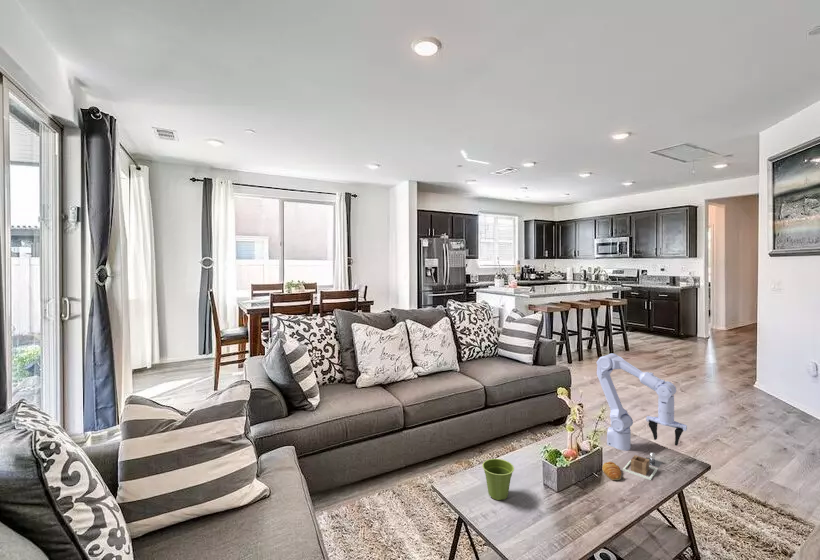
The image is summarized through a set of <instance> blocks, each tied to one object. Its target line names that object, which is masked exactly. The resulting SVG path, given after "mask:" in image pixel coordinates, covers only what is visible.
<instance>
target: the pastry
mask: <svg viewBox="0 0 820 560" xmlns="http://www.w3.org/2000/svg"><path fill="white" fill-rule="evenodd" d="M601 469H602V472H603V473H604V474H605V476H606V477H607V478H608V479H609V480H611V481H620V480H621V479H622V474H623V472H622V470H621V467H620V466H619V465H617V464H616V463H615V462H612V461H607V462H604V463H603V465H602V468H601Z"/></svg>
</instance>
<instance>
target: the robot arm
mask: <svg viewBox="0 0 820 560" xmlns="http://www.w3.org/2000/svg"><path fill="white" fill-rule="evenodd" d="M595 363H596V376H597V378H598V381H599V384H600V386H601V389H602V392H603V394H604V397H605V399H606V401H607V404H608V406H609V407H608V408H609V410H610V413H609V418H610V426H608V428H607V432H606V445H607V446H609V447H611V448H614V449H616V450H620V451H629V450H631V449H632V448H631V447H632V446H631V442H632V441H631V435H632V434H631V432H632V431H631V427H632V426H633V423H634V420H633V417H631V415H630V414H629V413H628V410H627V409H625V408H624V407H623V405H622V403H621V400H620V397H619V394H618V392H617V389H616V387H615V384H614V382H613V379H612V376H611V373H612V372H613V370H622V371H624V372H627V373H629V374H630V375H632V376H634V377H635V378H636V379H639V382H640V383H641V384H642V385H644V386H646V387H647V388H649V389H650V390H653V391H655V393H656V395H657V396H658V399H657V401H658V402H657V403H658V404H657V416H650V415H646V417H645V421H646V422H648V425H647V426H648V427H649V428H650V430H651V432H652V435H653V440H654V441H656V440H658V425H661V426H664V427H671V428H674V429H675V430H674V446H676V447H677V446H678V445H679V441H680V438H681V436H682V435H683V432H686V431H688V425H687V424H684V423H681V422H678V421H676V420H675V394H676V393H677V387H676V386H675V384H673V383H672V382H671V381H666V380H665V379H663V378H659V377H657V376H656V375H654V372H653V371H652V372H651V371H650V372H649V371H642V370H641V369H639V368H638V367H636V366H634V365H633V364H631V363H630V362H628V361H627V360H625V359H624V358H623V357H622V356H619V355H618V354H616V353H608V354H606V355H602V356H599V358H598V359H597V360H596V362H595Z"/></svg>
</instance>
